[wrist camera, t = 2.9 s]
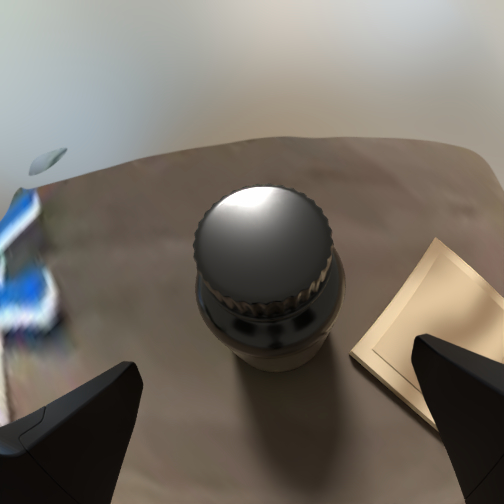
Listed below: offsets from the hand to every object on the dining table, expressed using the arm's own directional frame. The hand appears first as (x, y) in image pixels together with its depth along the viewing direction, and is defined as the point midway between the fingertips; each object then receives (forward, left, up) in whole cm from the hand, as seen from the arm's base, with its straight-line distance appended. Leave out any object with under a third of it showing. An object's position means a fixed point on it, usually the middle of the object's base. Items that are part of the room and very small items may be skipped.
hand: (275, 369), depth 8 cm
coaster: (-8, -11, -11) cm, 17 cm away
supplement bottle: (+3, -3, -11) cm, 12 cm away
